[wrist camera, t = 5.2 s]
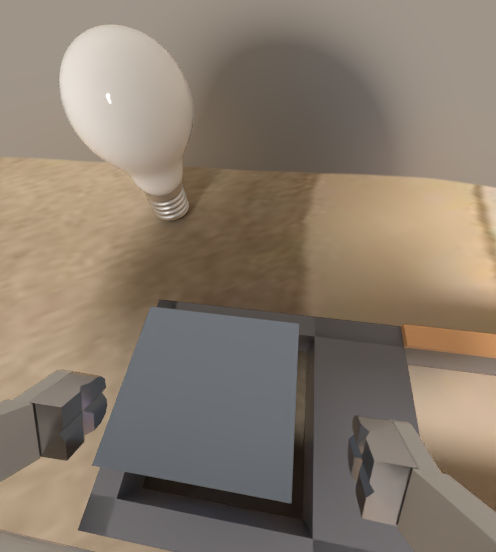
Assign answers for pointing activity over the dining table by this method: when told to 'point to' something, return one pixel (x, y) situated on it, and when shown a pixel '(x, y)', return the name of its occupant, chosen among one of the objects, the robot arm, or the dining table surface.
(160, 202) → the lightbulb
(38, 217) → the dining table surface
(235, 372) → the plug
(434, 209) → the dining table surface
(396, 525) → the robot arm
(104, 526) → the grey orange rectangular frame
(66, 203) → the dining table surface
